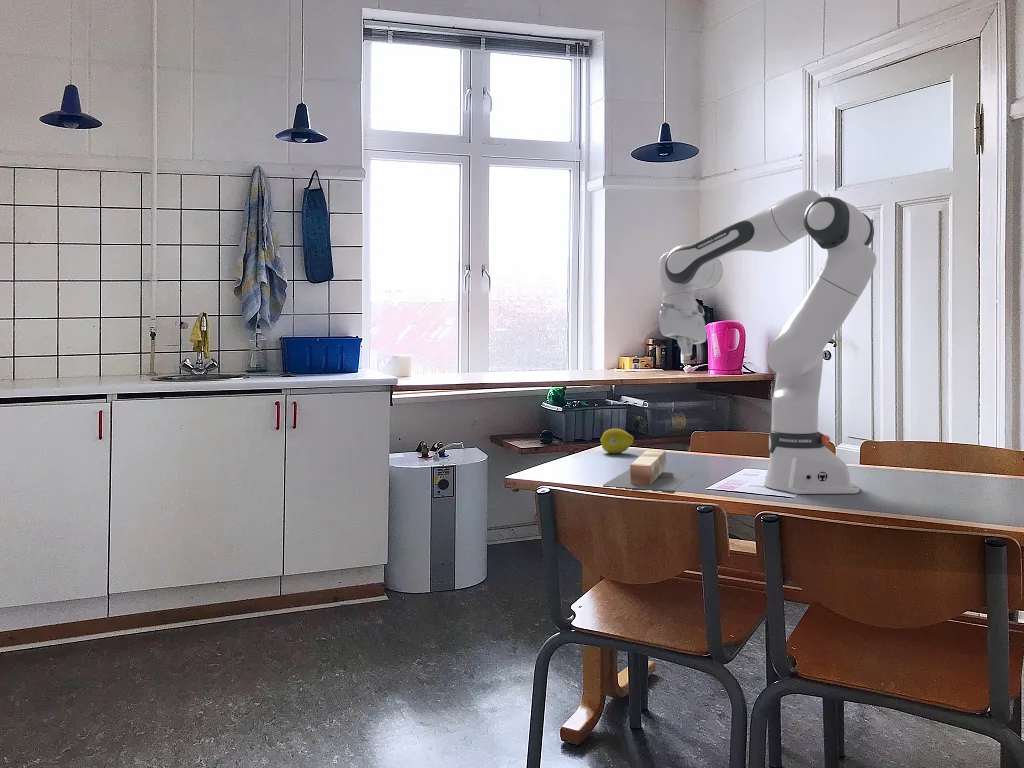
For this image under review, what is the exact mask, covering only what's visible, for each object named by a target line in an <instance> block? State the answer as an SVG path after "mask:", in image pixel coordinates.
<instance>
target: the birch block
mask: <svg viewBox="0 0 1024 768" xmlns="http://www.w3.org/2000/svg"><path fill="white" fill-rule="evenodd" d="M666 452H667V451H666V450H663V449H646V450H645V451H644V452H643V453H642V454H640V456H637V458H636V459H635V460H633V462H631V464H629V467H630V468H629V469H630V477H631V484H639V485H651V484H652V483H653V482H654V481H655V479H656V478H657V477H658V476H659V475H660V474H661V473H662V472H663V471H664V470H667V469H666V468H667V461H666V460H667V459H666V458H667V457H666V455H667V454H666Z"/></svg>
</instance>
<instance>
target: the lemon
mask: <svg viewBox="0 0 1024 768" xmlns="http://www.w3.org/2000/svg"><path fill="white" fill-rule="evenodd" d="M599 441H600V444H601V447H602V449H603V450H604V451H605V452H607V453H608V454H613V455H617V454H618V455H619V454H622V453H623V452H625V451H627V450H628V449H629V448H630V446H632V445H633V443H634V436H633V435H631V434H630V433H628V432H627V431H626V430H623V429H620V428H610V429H607V430H605V431H604V432H603V433H602V436H601V437H600V440H599Z"/></svg>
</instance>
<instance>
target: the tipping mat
mask: <svg viewBox="0 0 1024 768" xmlns="http://www.w3.org/2000/svg"><path fill="white" fill-rule="evenodd" d="M696 473H697V472H696V471H686V470H685V471H684V470H674V469H673V470H672V469H671V470H670V469H665V470H664V471H663V472H662V473H661V474H660V475H659V476H658V477H657V478H656V479H655V481H654V482H653V483H652V484H651V485H639V484H631V477H630V468H629V469H628V470H626V471H624V472H622V473H621V474H618V475H616V476H615V477H614V478H612V479H611V480H609V481H607V482H606V483H604V484H602V488H603V487H616V488H625V489H632V490H631V491H636V490H652V491H662V492H667V493H666V494H675V493H674V492H677V490H676V489H677V488H678V487H679V486H681V485H683V483H685V482H686V481H687V480H689V479H690V477H692V476H693V475H695V474H696Z"/></svg>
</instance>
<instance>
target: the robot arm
mask: <svg viewBox="0 0 1024 768" xmlns="http://www.w3.org/2000/svg"><path fill="white" fill-rule="evenodd" d="M874 235H875V228H874V223H873V222H872V220H871V218H869V216H868V215H867V214H865V212H861V210H859V209H858V207H856V206H855V205H853V204H851V203H848V202H847V201H844V200H842V199H841V198H838V197H834V196H824V197H823V196H822V195H821V194H820V193H819V192H817V191H815V190H814V189H805V190H802V191H799V192H796V193H793V194H791V195H789V196H787V197H785V198H783V199H780V200H778V201H777V202H775V203H774V204H772V205H770V206H768V207H767V208H765V209H763V210H761V211H760V212H757V213H756V214H753V215H751V216H750V217H747V218H744V219H743V220H741V221H738V222H736V223H733V224H730V225H728V226H727V227H726V226H725V227H724V228H722V229H720V230H718V231H716V232H714V233H712V234H710V235H708V236H706V237H705V238H702V239H700V240H698V241H695V242H693V243H689V244H682V245H677V246H676V247H674V248H673V249H672V250H669V251H667V252H665V253H664V254H663V255H662V256H661V257H660V258H659V261H658V267H657V268H658V280H659V287H660V289H661V291H662V298H661V299H662V304H661V306H660V310H659V313H658V321H659V331H660V333H661V336H663V337H667V338H670V339H674V340H676V341H677V342H676V343H677V345H678V347H679V349H680V353H681V355H683V356H687V357H690V356H692V355H693V345H699V344H703V343H705V342H706V341H707V339H708V337H707V329H706V327H707V326H706V321H705V318H704V317H703V316H705V311H704V308H703V306H701V304H699V303H698V302H697V300H696V299H695V295H694V294H695V293H694V292H695V291H699V290H707V289H711V288H714V287H715V286H717V285H718V283H720V281H721V279H722V276H723V271H724V270H723V265H722V262H721V260H720V259H719V258H722V257H723V256H725V255H727V254H730V253H734V252H739V251H741V252H742V251H750V252H751V251H753V252H763V253H771V252H775V251H777V250H778V251H779V250H781V249H784V248H786V247H788V246H790V245H791V244H793V243H795V242H796V241H798V240H800V239H802V238H804V237H806V236H810V237H811V238H812V239H813V240H814V241H815V243H816V244H817V245H818V246H819V247H820V248H821V249H823V250H826V251H827V258H826V260H825V262H824V265H823V267H822V268H821V269H820V271H819V273H818V275H817V276H816V277H815V279H814V281H813V282H812V284H811V286H810V287H809V289H808V290H807V292H806V294H805V295H804V296H803V299H802V300H801V302H800V303H799V304H798V305H797V307H796V309H795V310H793V312H792V314H791V315H790V316H789V318H788V319H787V320H786V322H785V323H784V324H783V325H782V327H781V328H780V330H779V331H778V332H777V334H776V335H775V337H774V338H773V340H772V341H771V343H770V344H769V346H768V347H767V351H766V361H767V364H768V365H769V367H770V369H772V371H773V372H775V374H776V377H775V384H774V385H775V386H774V389H773V395H772V398H771V429H770V430H769V435H768V450H769V460H768V466H767V470H766V471H767V472H766V476H765V478H764V482H763V486H764V487H766V488H770V489H771V490H773V489H774V490H777V491H782V492H783V491H784V492H787V493H791V494H797V495H801V494H802V495H805V494H806V495H809V494H810V495H812V494H813V495H818V494H820V495H824V494H825V495H826V494H827V495H828V494H829V495H830V494H837V495H838V494H842V495H843V494H858V493H859V492H860V486H859V484H858V483H857V482H854V481H852V480H851V477H850V471H849V467H848V465H847V463H845V461H843V459H841V458H840V457H839V456H837V455H836V454H835V453H834V452H832V451H831V450H830V449H829V448H827V447H826V445H828V444H830V443H831V437H830V436H828V435H827V434H823V433H822V432H820V431H819V429H818V426H819V399H820V390H821V384H822V383H821V382H822V375H823V365H824V363H823V362H824V349H825V347H827V344H828V343H829V342H830V341H831V339H833V337H834V335H836V333H837V331H838V330H839V329H840V328H841V327H842V325H843V324H844V323H845V320H846V319H847V318H848V316H849V314H850V313H851V311H852V310H853V308H854V307H855V305H856V303H857V302H858V301H859V298H860V297H861V296H862V295H863V293H864V290H865V289H866V287H867V285H868V283H869V281H870V279H871V277H872V276H873V275H872V274H873V273H874V269H875V268H876V265H877V255H876V253H875V252H874V251H873V249H872V248H870V247H869V246H870V244H871V243H872V241H873V239H874Z"/></svg>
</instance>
